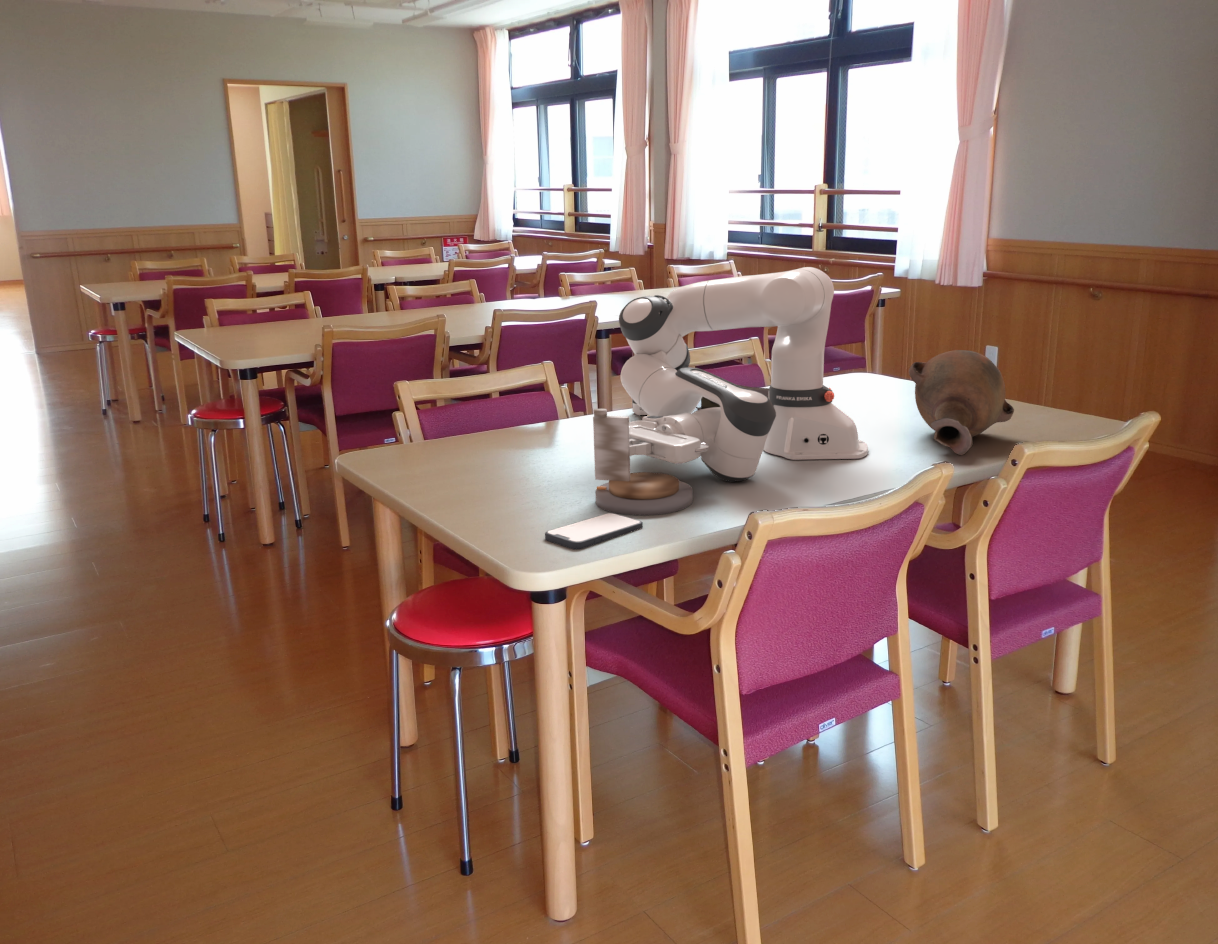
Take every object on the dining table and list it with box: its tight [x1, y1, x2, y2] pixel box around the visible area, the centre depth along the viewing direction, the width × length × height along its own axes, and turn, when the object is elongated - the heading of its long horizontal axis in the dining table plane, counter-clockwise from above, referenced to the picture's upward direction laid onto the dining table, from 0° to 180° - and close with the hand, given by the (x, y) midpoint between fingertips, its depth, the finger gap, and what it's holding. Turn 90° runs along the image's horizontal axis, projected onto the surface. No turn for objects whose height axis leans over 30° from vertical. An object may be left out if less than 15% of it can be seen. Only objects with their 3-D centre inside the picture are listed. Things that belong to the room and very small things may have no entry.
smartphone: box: [544, 512, 644, 550], centre depth 167 cm, size 9×2×16 cm
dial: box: [592, 408, 680, 499], centre depth 182 cm, size 16×13×15 cm
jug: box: [908, 349, 1015, 456], centre depth 219 cm, size 20×20×30 cm
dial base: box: [594, 480, 694, 516], centre depth 184 cm, size 18×18×2 cm
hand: (623, 450), depth 186 cm, fingers closed
